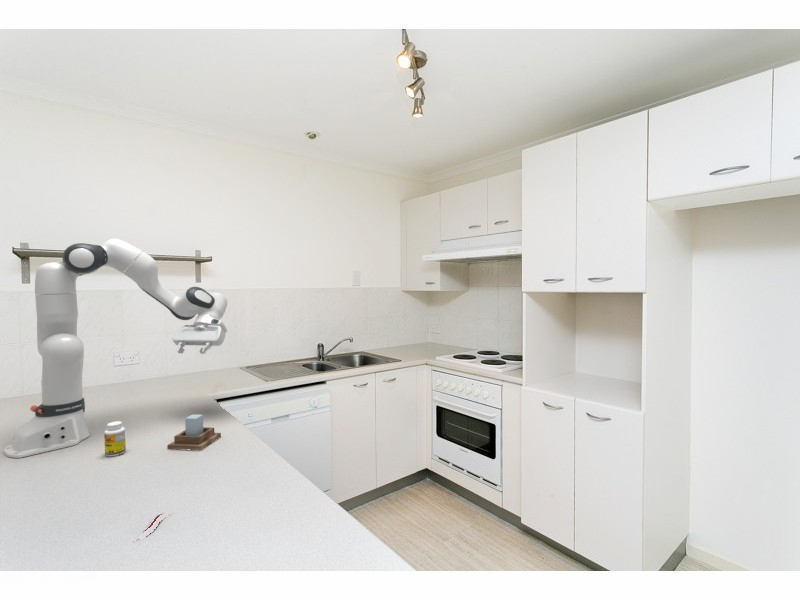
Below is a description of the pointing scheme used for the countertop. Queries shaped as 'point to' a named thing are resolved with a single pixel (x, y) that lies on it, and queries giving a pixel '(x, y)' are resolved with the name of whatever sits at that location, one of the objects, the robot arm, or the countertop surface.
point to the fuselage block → (194, 425)
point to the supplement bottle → (114, 439)
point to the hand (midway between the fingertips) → (190, 352)
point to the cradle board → (194, 440)
